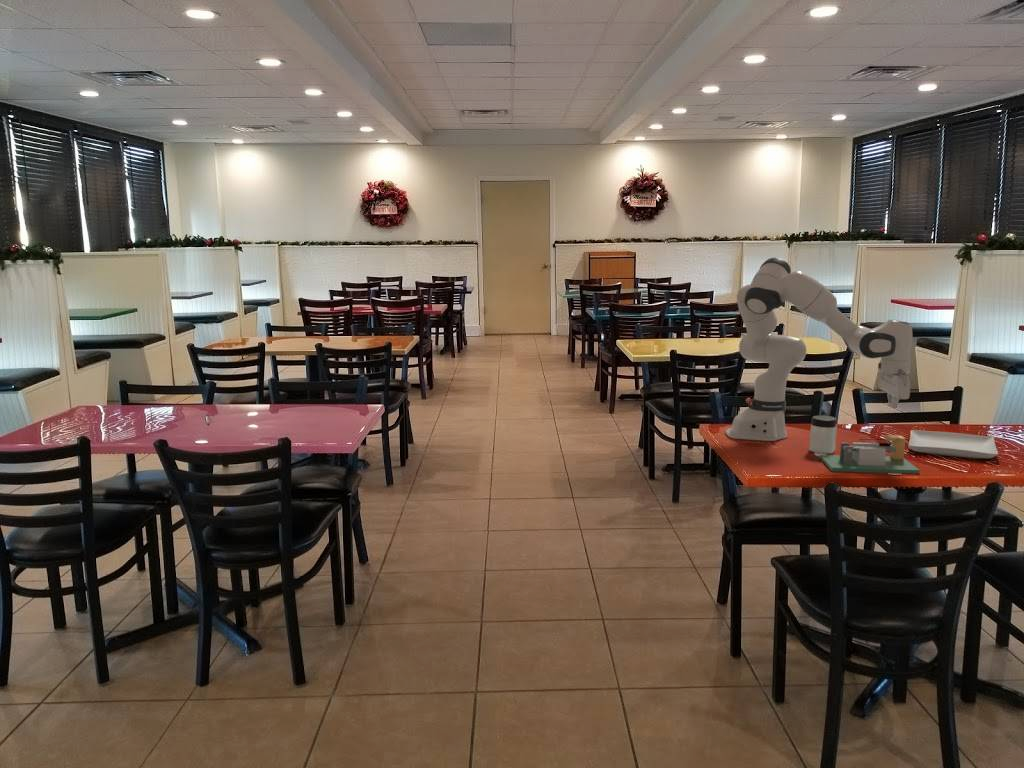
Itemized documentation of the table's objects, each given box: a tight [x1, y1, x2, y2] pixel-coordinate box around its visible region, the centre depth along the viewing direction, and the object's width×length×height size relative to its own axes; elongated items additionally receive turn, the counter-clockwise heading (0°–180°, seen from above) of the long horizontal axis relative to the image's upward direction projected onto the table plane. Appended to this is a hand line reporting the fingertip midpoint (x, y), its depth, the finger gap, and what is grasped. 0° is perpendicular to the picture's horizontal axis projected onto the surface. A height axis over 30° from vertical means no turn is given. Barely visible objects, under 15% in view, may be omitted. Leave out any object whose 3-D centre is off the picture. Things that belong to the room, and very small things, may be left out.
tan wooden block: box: [883, 434, 906, 460], centre depth 268 cm, size 6×4×7 cm
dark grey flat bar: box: [842, 445, 896, 453], centre depth 263 cm, size 16×3×1 cm, turn 83°
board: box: [818, 441, 921, 475], centre depth 263 cm, size 27×16×7 cm, turn 83°
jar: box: [809, 415, 838, 455], centre depth 282 cm, size 9×8×12 cm
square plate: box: [908, 429, 999, 460], centre depth 284 cm, size 27×27×4 cm
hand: (892, 407), depth 273 cm, fingers closed
